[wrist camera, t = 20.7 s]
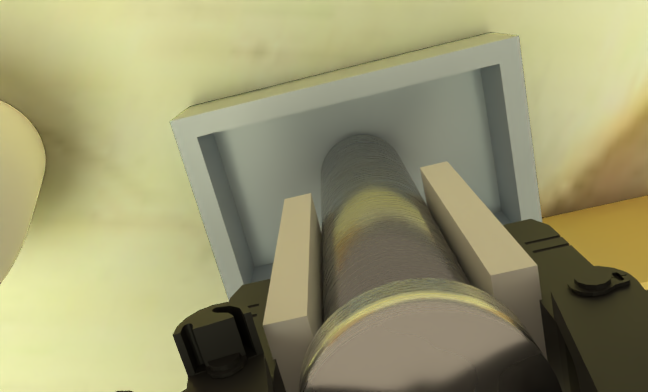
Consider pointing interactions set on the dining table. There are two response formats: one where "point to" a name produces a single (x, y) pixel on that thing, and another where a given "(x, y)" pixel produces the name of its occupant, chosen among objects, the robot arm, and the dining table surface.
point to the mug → (17, 181)
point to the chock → (609, 235)
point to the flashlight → (404, 293)
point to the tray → (357, 119)
